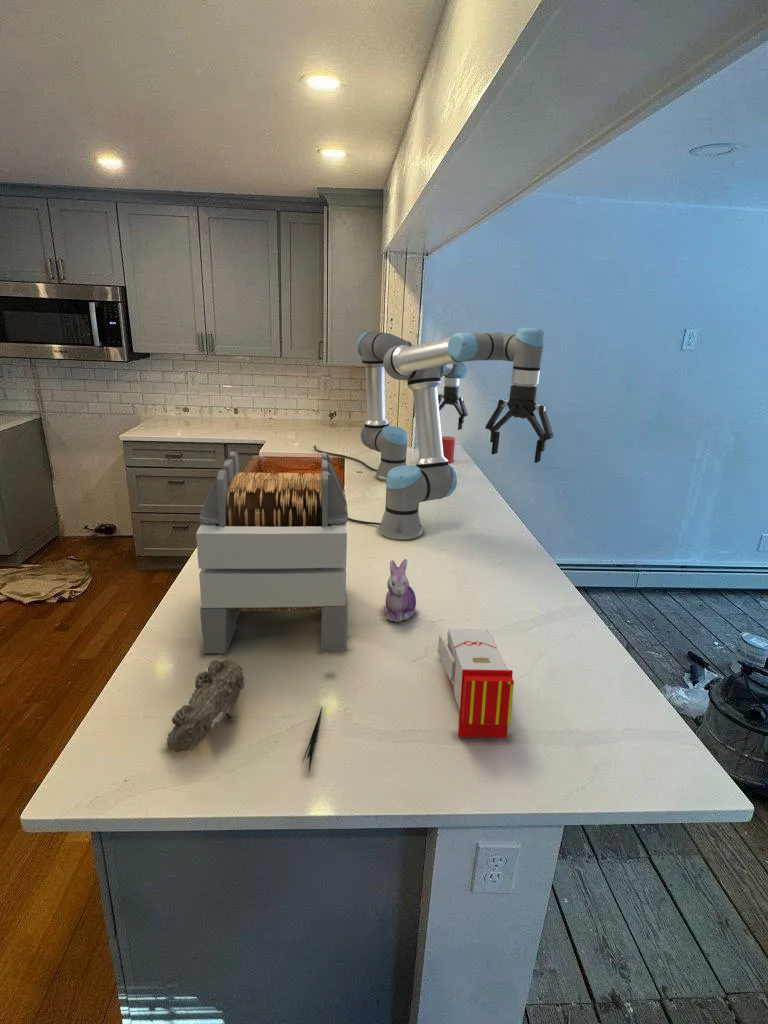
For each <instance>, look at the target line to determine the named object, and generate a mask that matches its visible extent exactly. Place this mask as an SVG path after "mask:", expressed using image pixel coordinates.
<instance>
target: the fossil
mask: <svg viewBox="0 0 768 1024" xmlns="http://www.w3.org/2000/svg"><path fill="white" fill-rule="evenodd" d="M243 670H244V669H243V667H242V665H240V664H237V662H236V661H235V660H234V659H232V658H231V659H227V658H226V659H224V660H223V661H222V660H217V659H212V660H211V661H210V663H209V665H208V666H207V671H201V672H199V673H198V674H197V675H196V676H195V680H194V684H195V685H194V687H195V689H194V690H193V693H192V694H191V697H190V698H189V700H188V704H184V705H182V706H181V707H180V709H177V710H176V711H175V713H174V715H173V716H172V718H171V723H172V724H173V727H172V730H171V731H170V732H168V734H167V738H166V741H167V742H166V745H167V749H168V750H169V751H173V752H174V753H176V754H178V753H182V752H188V751H189V752H192V751H193V750H195V748H196V747H197V746H199V744H200V743H201V742H203V741H204V740H205V739H206V738H207V737H208V736H209V735H210V734H211V733H212V732H214V730H215V729H217V727H218V726H219V724H220V722H221V721H222V720H223V719H224V718H225V716H226V717H227V719H229V720H233V717H232V715H230V714H229V710H230V709H231V708H234V706H235V704H236V703H237V702H238V699H239V697H240V695H241V693H242V691H243V690H245V689H244V688H245V675H244V671H243Z"/></svg>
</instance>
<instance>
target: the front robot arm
mask: <svg viewBox="0 0 768 1024" xmlns="http://www.w3.org/2000/svg"><path fill="white" fill-rule="evenodd" d="M544 346H545V331H544V330H543V329H542V328H538V327H537V328H536V327H535V328H534V327H519V328H517V330H516V334H515V333H513V334H512V333H504V332H496V331H495V332H468V331H462V332H456V333H453V335H452V336H450V337H445V338H441V339H438V340H433V341H429V342H424V343H419V344H412V345H399V346H394V347H392V348H390V349H389V350H388V351H387V352H386V354H385V356H384V360H383V365H384V372H386V374H387V375H388V376H389V377H390V378H392V379H394V380H397V381H406V382H407V387H408V388H409V389H410V390H411V392H412V396H413V407H414V417H415V426H416V437H417V445H418V457H419V459H418V460H417V461H416V463H415V465H412V464H406V466H405V465H403V466H397V467H394V468H392V469H391V470H390V471H389V472H388V474H387V480H386V482H385V504H384V505H385V507H384V508H385V509H384V513H383V515H382V519H381V522H375V521H365V520H358V519H354V518H350V517H348V521H350V522H354V523H359V524H364V525H374V526H378V533H379V534H380V535H381V536H382V537H385V538H387V539H389V540H395V541H410V540H415V539H418V538H420V537H421V536H422V535H423V524H421V518H420V515H419V507H420V506H419V505H420V503H423V502H429V501H435V500H442V499H444V498H448V497H450V496H451V495H453V493H454V491H455V490H456V488H457V484H458V475H457V472H456V470H455V468H454V467H453V466H452V465H449V464H450V463H448V460H447V459H446V458H445V457H444V455H443V445H442V425H441V413H440V411H439V406H440V404H438V395H439V394H438V388H439V386H440V385H441V383H442V381H441V379H442V378H443V377H444V376H443V375H444V374H445V372H444V371H445V370H446V365H448V364H454V363H459V362H462V363H466V362H475V361H505V362H511V363H513V364H512V372H511V374H512V375H511V381H510V383H511V385H510V390H509V399H508V400H506V399H504V398H501V399H499V400H498V401H497V406H496V408H495V410H494V411H493V413H492V415H491V416H490V417H489V420H488V421H487V423H486V425H485V429H486V430H489V431H490V438H489V441H490V443H491V444H492V445H491V451H490V452H491V455H496V454H498V452H499V451H498V450H499V443H500V435H501V434H500V433H501V432H500V431H499V430H500V428H501V427H503V426H504V425H505V424H506V423H507V422H508V421H509V420H510V419H511V418H512V417H513V418H520V419H526V420H527V421H528V422H529V424H530V425H531V427H532V428H533V430H534V432H535V433H536V435H537V437H538V438H539V439H537V440H536V446H535V453H534V460H533V462H534V463H536V464H537V463H539V462H541V458H542V452H544V451H545V450H546V445H547V441H548V440H551V439H553V438H554V437H555V435H554V432H553V429H552V426H551V422H550V420H549V417H548V413H547V405H546V404H537V396H538V389H539V388H538V386H537V385H538V384H539V380H540V373H541V363H542V357H543V352H544ZM506 407H508V411H507V412H506V413H505V414H504V415H503V416H502V417H501V418H500V419H499V420H498V418H499V417H500V416H501V414H502V412H503V411H504V409H505V408H506ZM535 411H537V413H538V415H539V419H540V421H538V419H537V416H536V414H535V413H534V412H535ZM439 413H440V414H439ZM497 420H498V422H497ZM540 422H541V424H540Z"/></svg>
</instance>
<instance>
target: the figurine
mask: <svg viewBox="0 0 768 1024" xmlns="http://www.w3.org/2000/svg"><path fill="white" fill-rule="evenodd" d="M407 567H408V559H406V558H404V559H403V560H402V561H401V563H400V565H399V566H398V565H397V563H396V562H395V561H394V560H393V559H391V560H390V561H389V570H390V576H389V578H388V579H387V589H388V591H387V592H386V594H385V595H386V596H385V607H384V615H385V616H386V620H387V621H391V622H395V623H400V622H402V621H406V620H409V619H410V618H411V617H413V616H414V615H415V610H416V606H417V597H416V593H415V591H414V590H413V587H411V586H410V582H409V579H408V577H407V574H406V571H407Z"/></svg>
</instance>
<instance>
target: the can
mask: <svg viewBox="0 0 768 1024" xmlns="http://www.w3.org/2000/svg"><path fill="white" fill-rule="evenodd" d="M455 444H456V438H455V437H453V436H449V435H448V436H447V435H443V436H442V445H443V455H444V457H445V458H446V459H447V460H448V463H449V464H451V463H454V457H455V446H456V445H455Z"/></svg>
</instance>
